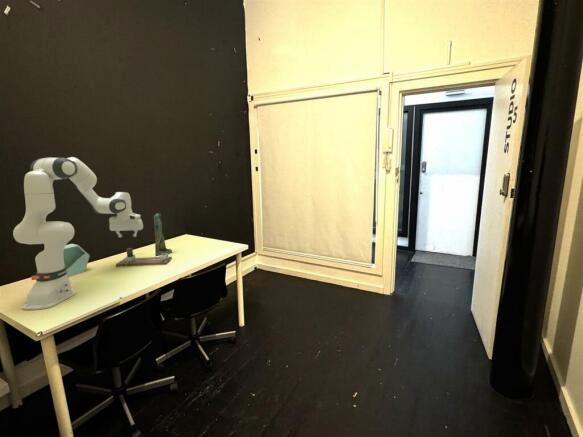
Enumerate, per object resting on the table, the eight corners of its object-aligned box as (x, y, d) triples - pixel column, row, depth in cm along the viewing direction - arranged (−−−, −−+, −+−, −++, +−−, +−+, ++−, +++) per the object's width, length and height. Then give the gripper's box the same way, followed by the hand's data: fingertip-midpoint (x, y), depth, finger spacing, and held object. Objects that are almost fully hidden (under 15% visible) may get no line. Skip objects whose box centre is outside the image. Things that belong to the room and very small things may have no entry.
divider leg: (130, 262, 199) (129, 250, 197) (124, 262, 199) (122, 251, 197) (135, 258, 206) (134, 247, 205) (129, 259, 206) (127, 247, 204)
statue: (172, 253, 224) (168, 213, 218) (156, 256, 218) (152, 215, 212) (170, 250, 229) (166, 212, 223) (154, 253, 223) (150, 213, 217)
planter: (73, 282, 185) (46, 260, 172) (67, 279, 189) (40, 258, 176) (96, 260, 195) (71, 239, 182) (89, 258, 199) (65, 237, 186)
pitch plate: (166, 264, 200) (165, 255, 198) (115, 266, 198) (114, 257, 197) (171, 258, 211) (171, 250, 210) (124, 260, 209) (123, 252, 208)
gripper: (106, 217, 194) (108, 238, 196) (138, 216, 195) (141, 237, 198) (111, 215, 200) (113, 236, 203) (143, 215, 201) (145, 235, 204)
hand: (127, 236), depth 200 cm, fingers open, 8 cm apart
